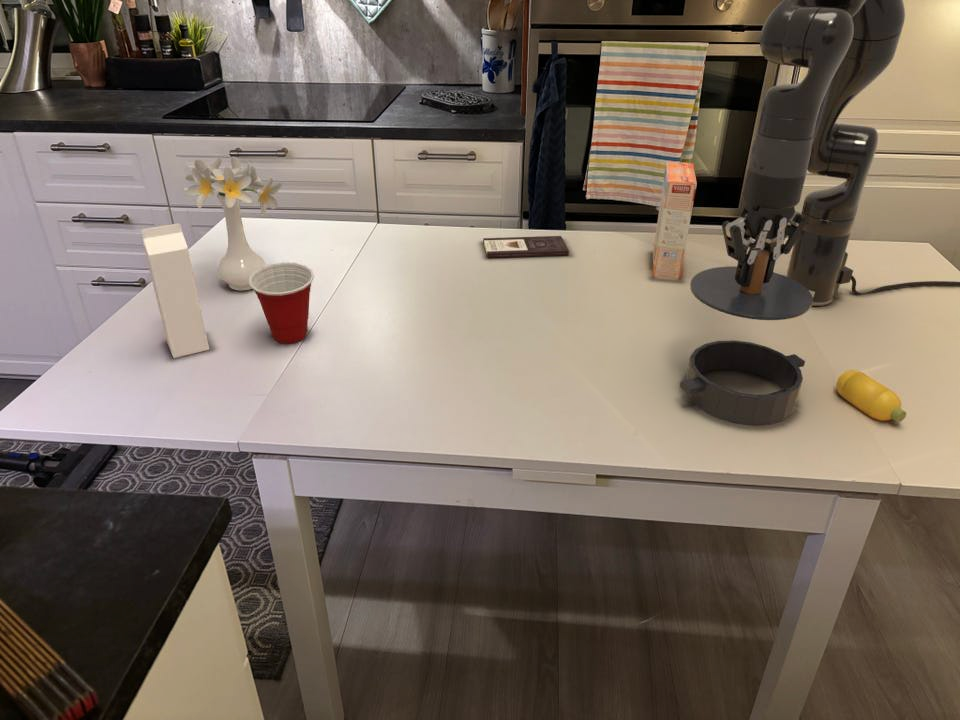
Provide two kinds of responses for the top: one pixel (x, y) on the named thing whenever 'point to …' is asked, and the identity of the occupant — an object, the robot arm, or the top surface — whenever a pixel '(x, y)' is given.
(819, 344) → the top surface
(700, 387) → the pan
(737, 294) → the lid
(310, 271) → the plastic cup
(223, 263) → the flower vase
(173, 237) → the milk
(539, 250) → the chocolate bar
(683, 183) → the cracker box
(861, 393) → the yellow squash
